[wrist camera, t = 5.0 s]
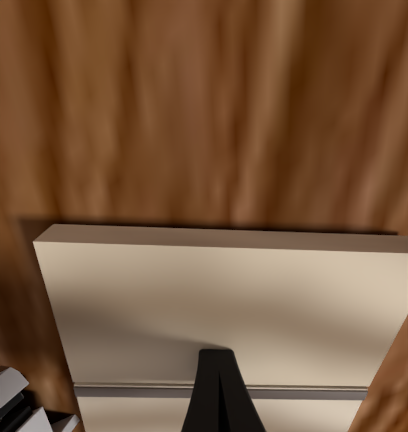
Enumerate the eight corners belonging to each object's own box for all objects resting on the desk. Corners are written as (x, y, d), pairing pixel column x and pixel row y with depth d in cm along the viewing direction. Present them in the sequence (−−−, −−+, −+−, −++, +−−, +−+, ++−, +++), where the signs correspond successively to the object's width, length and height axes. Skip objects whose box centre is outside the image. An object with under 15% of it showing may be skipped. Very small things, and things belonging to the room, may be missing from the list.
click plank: (354, 360, 12) (369, 386, 11) (84, 355, 12) (72, 382, 11) (411, 236, 9) (439, 254, 8) (53, 223, 9) (32, 241, 8)
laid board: (320, 442, 15) (330, 470, 14) (102, 440, 15) (94, 469, 13) (352, 363, 12) (368, 390, 11) (85, 359, 12) (72, 386, 11)
